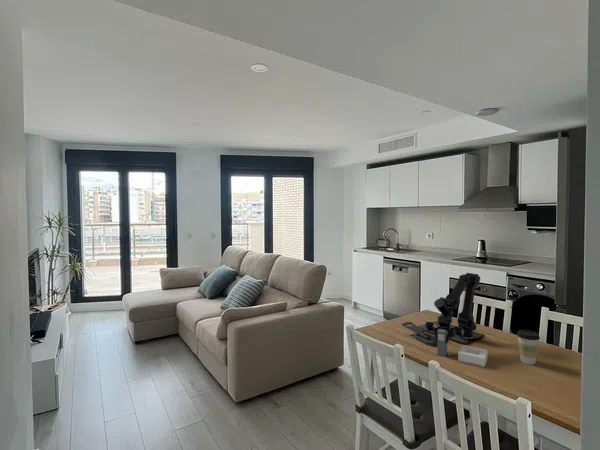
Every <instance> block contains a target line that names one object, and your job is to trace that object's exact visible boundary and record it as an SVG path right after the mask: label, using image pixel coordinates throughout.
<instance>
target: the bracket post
mask: <svg viewBox="0 0 600 450" xmlns="http://www.w3.org/2000/svg"><path fill="white" fill-rule="evenodd" d="M447 335H448V331H447V330H443V329H439V330H438V331H437V338H438V345H437V355H438V356H442V357H446V356H447V355H448V343H447V344H446V338H447Z"/></svg>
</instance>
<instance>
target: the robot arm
mask: <svg viewBox="0 0 600 450" xmlns="http://www.w3.org/2000/svg"><path fill="white" fill-rule="evenodd" d="M480 281H481V277H480V276H479V274H478V273H473V272H466V273H465V274H464V273H463V274H460V275H459V277H458V281H457V282H456V284H455V286H454V288H453V289H452V291H451V293H447V295H446V296H445V297H441V296H440V298H438V299H436V300H435V301H434V302H433V305H434V307H435V308H436V309H437V310H438V312H440V315H437V324H435V323H434V322H433V321H426V322H425V328H426V330H427V331H430V332H433V333H434V335H436V339H437V343H438V338H437V331H438V330H439V329H443V330H447V338H446V344H447V345H448V343H449V342H450V340H452V338H453V337H456V336H458V337H459V336H462V337H468V338H470V337H473V336H475V335H474V331H476V330H477V328H478V327H477V324H476V322H475V317H474V315H473V306H474V300H475V299H474V298H475V291H476V289H477V288H478V287H479V285H480ZM464 291H465V294H464V299H463V306H462V311H461V312H459V313H458V317H457V324H458V326H457V325H454V326H453V327H451V325H452V322H453V315H454V311H453V309H454V310H457V309H458V308H459V306H460V304H461V299H460V298H461V295H462V294H463V292H464Z"/></svg>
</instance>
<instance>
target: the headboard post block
mask: <svg viewBox="0 0 600 450" xmlns="http://www.w3.org/2000/svg"><path fill="white" fill-rule="evenodd" d="M457 354H458V355H457V357H458V359H457V361H458V362H459V363H464V364H466V365H467V364H469V365H472V366H477V367H483V368H485V367H486V364H487V361H488V358H489V357H488V356H489V354H488V349H484V348H479V347H474V346H470V345H464V344H462V345H461V347H460V349H459V351H458V352H457Z"/></svg>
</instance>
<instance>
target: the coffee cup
mask: <svg viewBox="0 0 600 450" xmlns="http://www.w3.org/2000/svg"><path fill="white" fill-rule="evenodd" d="M516 336H517V344H518V345H517V346H518V351H519V356H520V358H519V359H520V362H522V364H525V365H535V364H536V361H537V357H538V350H539V341H540V339H541V337H540V335H539V333H538V332H536V331H533V330H530V329H529V330H528V329H520V330H518V331H517V333H516Z"/></svg>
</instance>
